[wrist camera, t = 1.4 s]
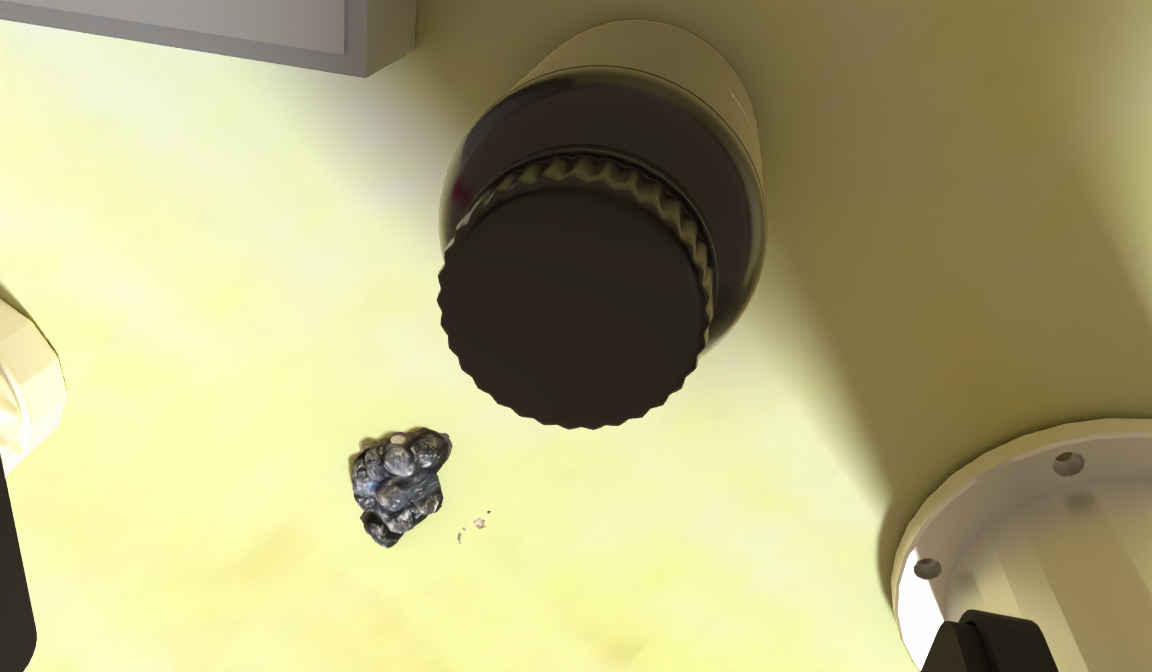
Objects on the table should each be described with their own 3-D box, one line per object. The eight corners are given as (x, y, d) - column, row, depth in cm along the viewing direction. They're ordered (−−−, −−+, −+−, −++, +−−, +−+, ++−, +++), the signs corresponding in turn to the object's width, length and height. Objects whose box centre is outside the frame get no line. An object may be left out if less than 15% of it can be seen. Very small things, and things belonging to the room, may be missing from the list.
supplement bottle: (810, 122, 26) (870, 303, 15) (651, 294, 28) (607, 547, 18) (615, -45, 24) (529, 22, 14) (471, 153, 27) (307, 333, 17)
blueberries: (538, 430, 32) (529, 456, 31) (470, 601, 35) (458, 635, 34) (356, 359, 32) (336, 382, 30) (303, 538, 35) (282, 568, 34)
